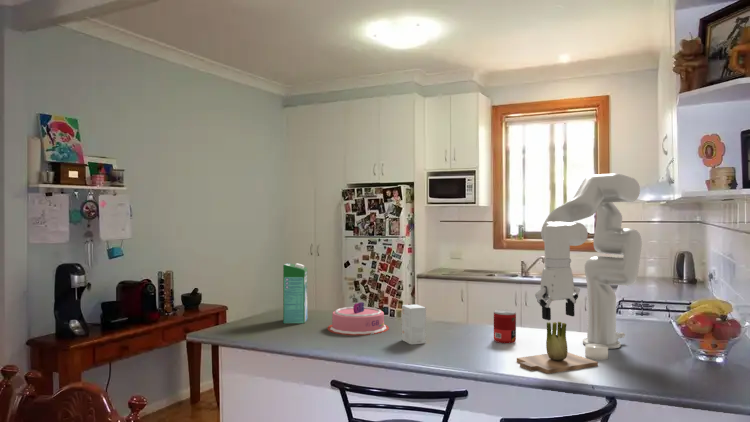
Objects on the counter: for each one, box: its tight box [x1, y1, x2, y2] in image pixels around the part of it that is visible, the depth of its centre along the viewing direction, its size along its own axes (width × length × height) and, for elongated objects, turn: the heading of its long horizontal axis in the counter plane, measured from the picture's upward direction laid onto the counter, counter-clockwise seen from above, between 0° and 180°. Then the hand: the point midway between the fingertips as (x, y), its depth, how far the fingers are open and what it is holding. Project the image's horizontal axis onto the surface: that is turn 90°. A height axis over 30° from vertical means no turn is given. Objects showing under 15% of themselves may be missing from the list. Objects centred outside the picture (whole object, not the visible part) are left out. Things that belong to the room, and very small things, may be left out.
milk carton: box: [282, 262, 308, 324], centre depth 238 cm, size 9×9×25 cm
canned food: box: [493, 309, 517, 344], centre depth 203 cm, size 8×8×11 cm
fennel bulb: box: [545, 321, 569, 361], centre depth 173 cm, size 6×5×12 cm
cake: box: [327, 301, 390, 336], centre depth 224 cm, size 25×25×11 cm
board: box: [516, 352, 599, 375], centre depth 172 cm, size 22×14×1 cm, turn 115°
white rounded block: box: [584, 344, 609, 361], centre depth 181 cm, size 7×7×4 cm
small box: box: [401, 303, 427, 345], centre depth 202 cm, size 8×6×13 cm
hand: (558, 317), depth 174 cm, fingers open, 9 cm apart
